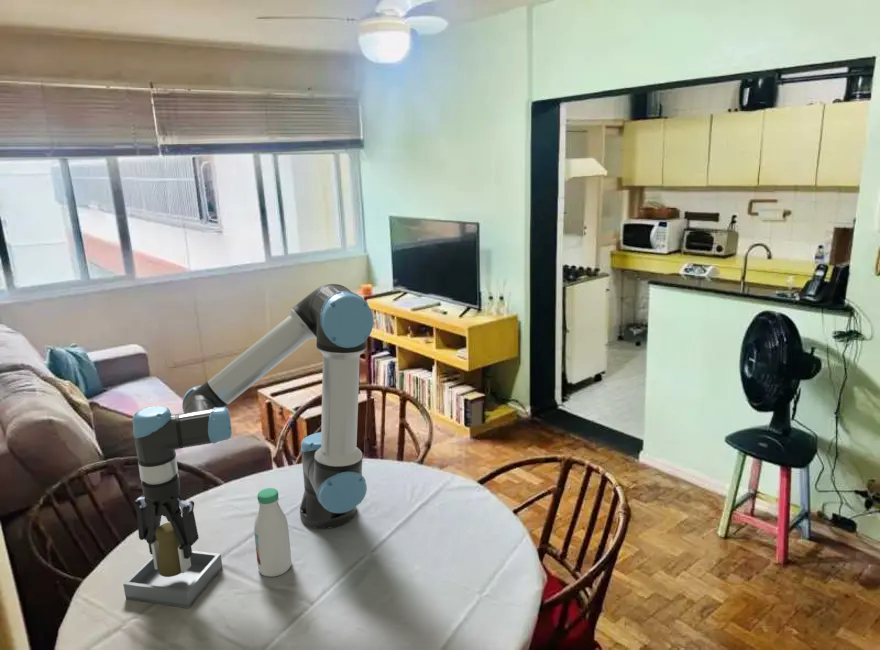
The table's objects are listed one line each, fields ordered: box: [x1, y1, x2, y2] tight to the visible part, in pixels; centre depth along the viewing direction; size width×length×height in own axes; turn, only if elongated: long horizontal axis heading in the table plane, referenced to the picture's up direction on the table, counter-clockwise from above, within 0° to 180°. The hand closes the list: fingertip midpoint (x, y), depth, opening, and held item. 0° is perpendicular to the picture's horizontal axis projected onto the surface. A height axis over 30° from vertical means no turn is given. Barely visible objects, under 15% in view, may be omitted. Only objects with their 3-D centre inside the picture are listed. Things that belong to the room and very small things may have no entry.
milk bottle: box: [253, 487, 292, 578], centre depth 143 cm, size 8×8×20 cm
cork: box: [155, 522, 181, 577], centre depth 138 cm, size 6×6×11 cm
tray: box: [123, 550, 223, 609], centre depth 140 cm, size 16×14×4 cm
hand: (173, 567), depth 139 cm, fingers closed on cork, 6 cm apart
